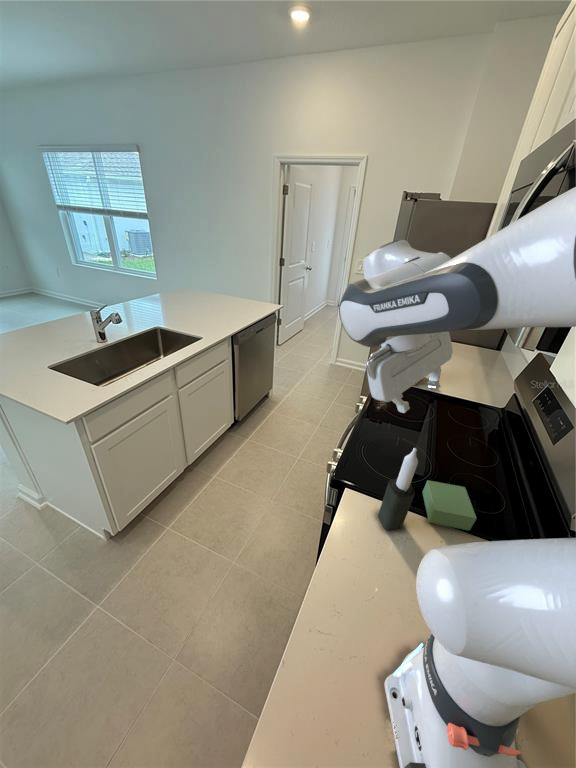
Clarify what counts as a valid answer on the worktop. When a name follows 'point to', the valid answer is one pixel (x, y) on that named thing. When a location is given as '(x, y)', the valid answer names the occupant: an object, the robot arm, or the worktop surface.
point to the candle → (399, 495)
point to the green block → (448, 505)
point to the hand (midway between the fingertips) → (419, 399)
